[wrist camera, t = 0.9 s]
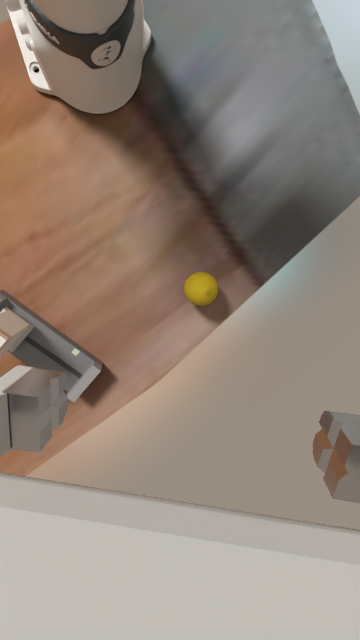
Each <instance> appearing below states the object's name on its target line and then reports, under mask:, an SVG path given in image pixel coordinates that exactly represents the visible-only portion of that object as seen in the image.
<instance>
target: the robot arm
mask: <svg viewBox="0 0 360 640" xmlns="http://www.w3.org/2000/svg"><path fill="white" fill-rule="evenodd" d="M5 2H6V6H7V8H8V12H9V15H10V18H11V21H12V24H13V27H14V30H15V34H16V37H17V40H18V43H19V46H20V49H21V52H22V55H23V58H24V62H25V65H26V68H27V71H28V74H29V77H30V80H31V83H32V85H33V87H34V88H35V89H36V90H38V91H40V92H43V93H46V94H50V95H55V96H57V97H59V98H61V99H62V100H64V101H65V102H66V103H68V104H69V105H71V106H73V107H75V108H76V109H79V110H81V111H84V112H88V113H95V114H101V113H108V112H111V111H114V110H116V109H118V108H120V107H122V106H123V105H124V104H125V103H127V102H128V101H129V100H130V98H131V97H132V96H133V94H134V93H135V91H136V89H137V87H138V84H139V81H140V77H141V70H142V61H143V57H144V55H145V53H146V51H147V49H148V47H149V45H150V42H151V31H150V28H149V26H148V25H147V23H146V21H145V20H144V14H143V0H5ZM35 69H39V72H38V73H35V72H34V70H35ZM67 386H68V376H67V374H66V373H65V372H59V371H53V370H47V369H41V368H35V367H29V366H16V367H14V368H13V369H12V370H10V371H9V372H8V373H6V374H5V375H4V376H2V377H1V378H0V456H2V455H4V454H5V453H7V452H9V451H10V450H11V449H17V450H24V451H32V452H41V451H42V449H43V448H44V447H45V445H46V444H47V442H48V441H49V440H50V438H51V437H52V430H54V429H56V428H58V427H59V426H60V424H61V423H62V422H63V420H64V417H65V415H66V412H67V406H68V397H67V395H66V394H65V393H64V389H65V388H66V387H67ZM319 423H320V425H321V427H322V430H321V431H319V432H318V433H317V434H316V435H315V438H314V441H313V456H314V460H315V462H316V464H317V467H319V468H320V469H321V470H322V471H324V472H325V475H324V481H325V483H326V485H327V487H328V489H329V491H330V493H331V496H332V498H334V499H339V500H344V501H351V502H356V503H360V415H354V414H347V413H339V412H330V411H324V413H323V414H322V415H321V418H320V422H319ZM0 640H360V530H356V529H350V528H344V527H338V526H331V525H325V524H319V523H313V522H306V521H300V520H293V519H288V518H281V517H275V516H268V515H262V514H256V513H250V512H243V511H237V510H231V509H225V508H218V507H213V506H206V505H200V504H193V503H188V502H181V501H174V500H169V499H163V498H156V497H150V496H144V495H138V494H131V493H125V492H119V491H113V490H106V489H100V488H94V487H88V486H81V485H75V484H69V483H63V482H56V481H50V480H43V479H38V478H31V477H25V476H19V475H13V474H7V473H0Z"/></svg>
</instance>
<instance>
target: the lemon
mask: <svg viewBox="0 0 360 640" xmlns="http://www.w3.org/2000/svg"><path fill="white" fill-rule="evenodd" d="M184 292H185V295H186V297H187V299H188V300H189V301H190V302H191V303H193V304H195V305H201V306H203V305H208V304H210V303H211V302H213V301H214V300H215V298H216V297H217V294H218V284H217V281H216V280H215V278H214V277H213V276H212V275H210V274H208V273H206V272H196V273H193V274H192V275H190V276H189V277H188V278H187V280H186V282H185V285H184Z"/></svg>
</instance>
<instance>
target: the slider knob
mask: <svg viewBox="0 0 360 640" xmlns="http://www.w3.org/2000/svg"><path fill="white" fill-rule="evenodd" d="M33 328H34V326H33V325H32V324H30V323H29V322H27V321H26V320H25V319H23V318H22V317H20V316H19V315H18V314H16V313H15V312H13V311H12V310H11V309H9V308H8V307H5V308H3V309H2V311H1V312H0V356H2V355H3V354H4V353H6V352H7V351H10V352H11V353H12V352H14V351H15V350H16V348H17V347H18V346H19V345H20V344H21V343H22V341H23V340H24V339H25V338H26V337H27V335H28V334H29V333H30V332H31V331H32V329H33Z"/></svg>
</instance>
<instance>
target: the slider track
mask: <svg viewBox="0 0 360 640" xmlns="http://www.w3.org/2000/svg"><path fill="white" fill-rule="evenodd" d="M5 307H8V308H9V309H11V310H12V311H13V312H15V313H16V314H18V315H19V316H20V317H22V318H23V319H25V320H26V321H27V322H29V323H30V324H32V325H33V326H34V328H33V329H32V331H31V332H30V333H29V334H28V335H27V337H26V338H25V339H24V340H23V341H22V343H21V344H20V345H19V346H18V347H17V348H16V350H15V351H14V352H12V353H11V352H10V351H8V352H10V353H11V354H13V355H14V356H16V357H17V358H19V359H20V360H22V361H23V362H25V363H26V364H27V365H29V366H30V367H35V368H41V369H47V370H53V371H59V372H65V373H66V374H67V376H68V386H67V387H66V388H65V390H66V391H68V393H67V397H68V399H69V400H71V401H72V402H75V401H76V399H77V398H78V397H79V396H80V395H81V394H82V393H83V391H84V390H85V389H86V388H87V387H88V386H89V384H90V383H91V382H92V381H93V380H94V379H95V377H96V376H97V375H98V374H99V373H100V372H101V369H102V364H103V362H101V361H100V360H98V359H97V358H96V357H94V356H93V355H92V354H90V353H89V352H87V351H86V350H85V349H83V348H82V347H81V346H79V345H78V344H76V343H75V342H74V341H72V340H71V339H70V338H68V337H67V336H65V335H64V334H63V333H61V332H60V331H59V330H57V329H56V328H54V327H53V326H52V325H50V324H49V323H48V322H46V321H45V320H43V319H42V318H41V317H39V316H38V315H37V314H35V313H34V312H32V311H31V310H30V309H28V308H27V307H26V306H24V305H23V304H22V303H20V302H19V301H17V300H16V299H15V298H13V297H12V296H11V295H9V294H8V293H6V292H5V291H4V290H1V291H0V312H1V311H2V309H3V308H5Z"/></svg>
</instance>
